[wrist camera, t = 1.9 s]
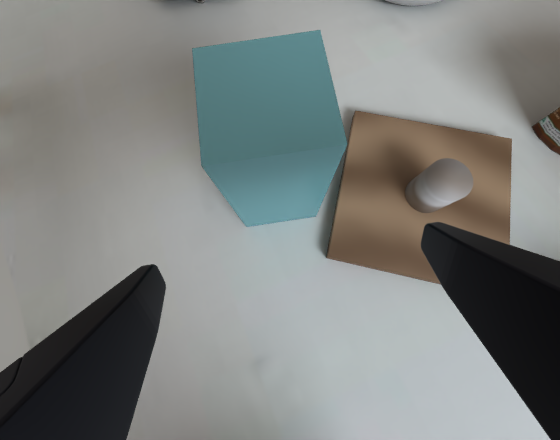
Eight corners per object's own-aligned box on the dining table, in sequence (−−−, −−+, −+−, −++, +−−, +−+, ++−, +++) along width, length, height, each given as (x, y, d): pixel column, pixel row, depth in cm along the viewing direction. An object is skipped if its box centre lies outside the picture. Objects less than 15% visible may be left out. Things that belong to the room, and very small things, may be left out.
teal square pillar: (315, 216, 22) (347, 144, 11) (246, 226, 22) (201, 166, 10) (303, 153, 24) (320, 30, 12) (239, 163, 24) (192, 48, 12)
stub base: (497, 297, 20) (556, 301, 16) (326, 257, 21) (336, 251, 17) (502, 144, 23) (552, 113, 19) (352, 117, 24) (367, 81, 20)
